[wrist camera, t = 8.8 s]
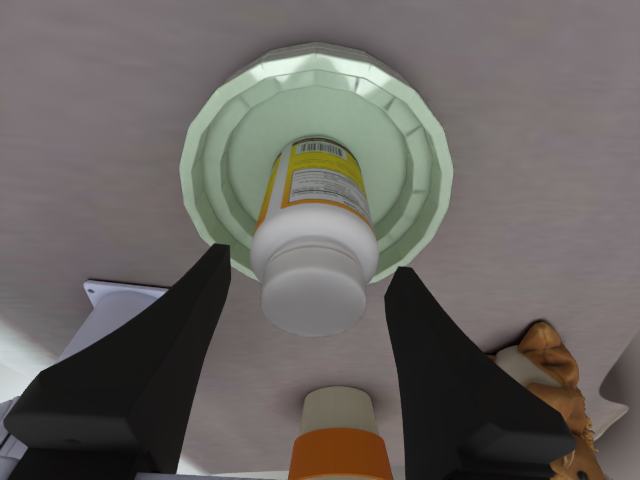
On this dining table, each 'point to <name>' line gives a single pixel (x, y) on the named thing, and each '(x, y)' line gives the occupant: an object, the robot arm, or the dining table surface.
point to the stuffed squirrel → (555, 394)
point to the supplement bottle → (314, 240)
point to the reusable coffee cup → (339, 438)
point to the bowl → (326, 121)
